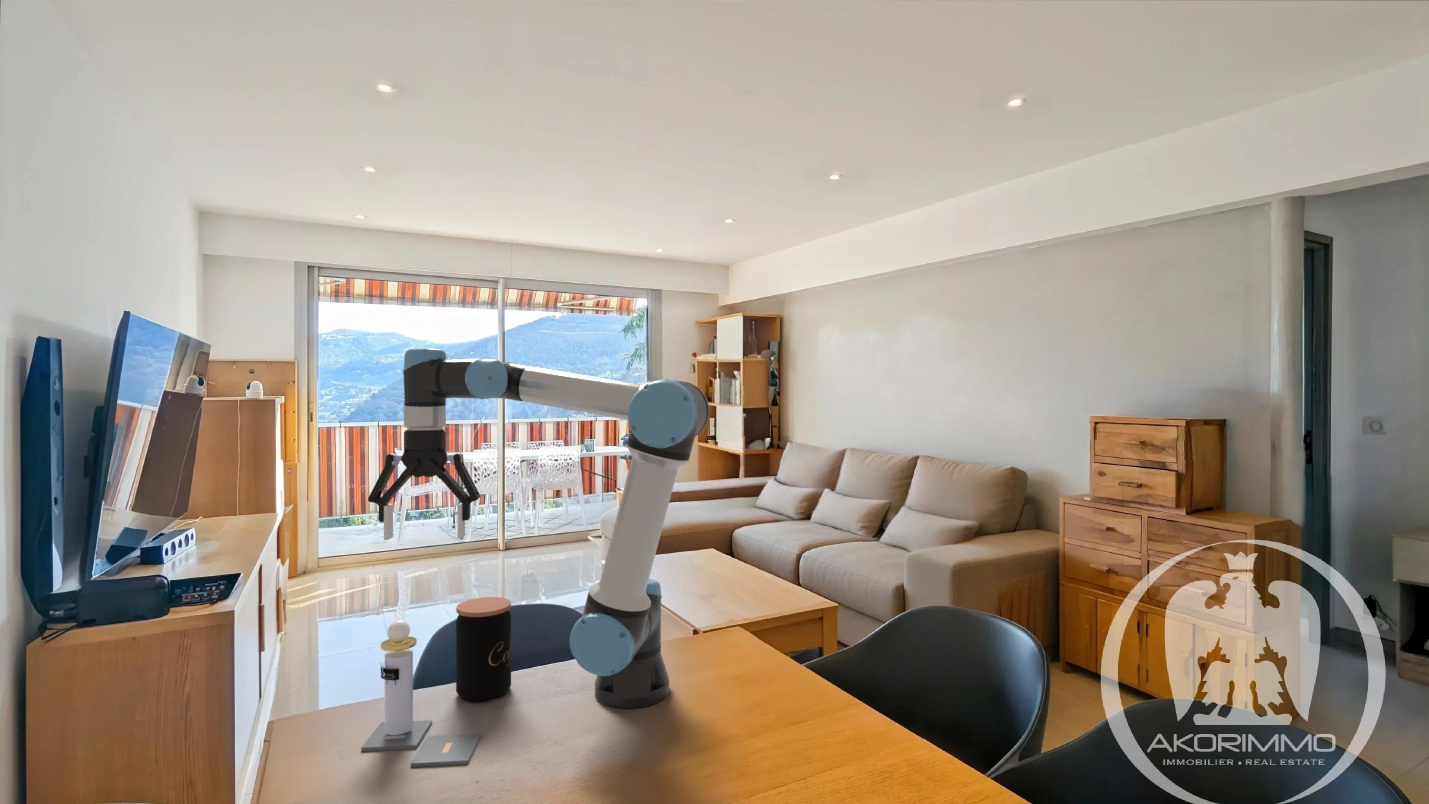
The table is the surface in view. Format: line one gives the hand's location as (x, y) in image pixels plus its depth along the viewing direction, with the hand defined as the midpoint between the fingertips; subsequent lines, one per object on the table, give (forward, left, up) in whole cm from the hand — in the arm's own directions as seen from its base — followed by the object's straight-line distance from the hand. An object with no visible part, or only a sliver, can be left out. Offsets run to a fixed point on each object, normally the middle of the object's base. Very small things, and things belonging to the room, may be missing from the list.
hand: (425, 538), depth 132 cm
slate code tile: (+1, +12, -33) cm, 35 cm away
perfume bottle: (+1, +12, -32) cm, 34 cm away
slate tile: (-9, +18, -33) cm, 38 cm away
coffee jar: (-10, -5, -33) cm, 35 cm away
